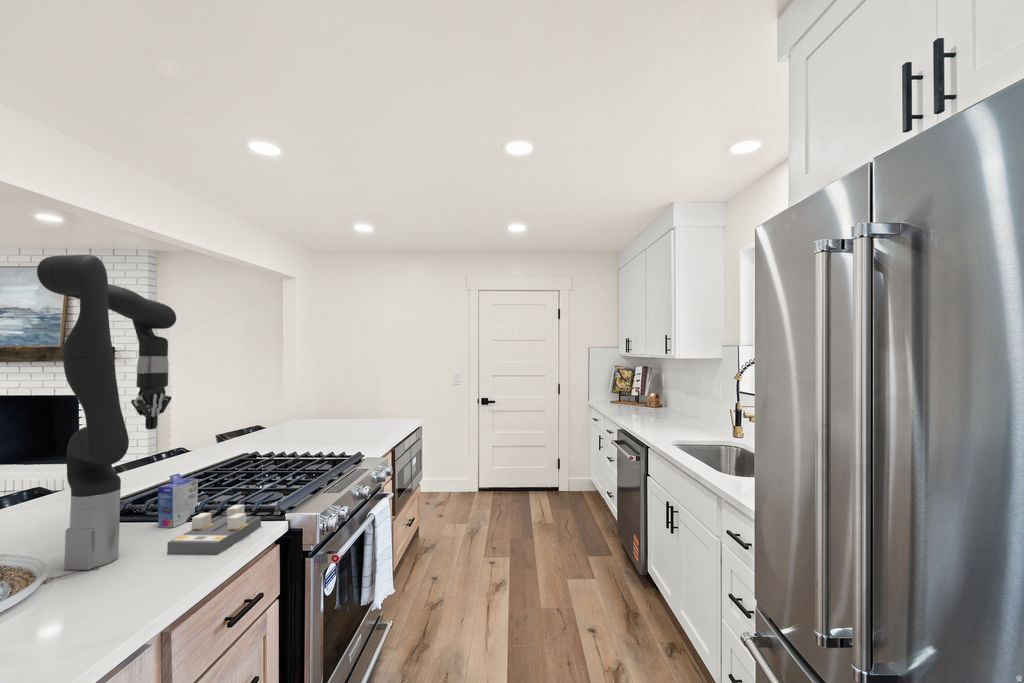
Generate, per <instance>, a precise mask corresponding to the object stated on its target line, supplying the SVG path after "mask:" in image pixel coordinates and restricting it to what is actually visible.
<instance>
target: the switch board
mask: <svg viewBox="0 0 1024 683" xmlns="http://www.w3.org/2000/svg"><path fill="white" fill-rule="evenodd" d="M227 520H228V519H227V515H217V516H216V517H214V518H211V524H210V525H208V526H206V527H204V528H202V529H192V528H191V529H190V530H188V531H186V532H185V533H183V534H181V535H179V536H177V537H174V538H173V539H171V540H170V541H168V542H167V544H166V546H167V550H166V551H167V552H166V554H167V555H195V556H196V555H197V556H200V555H203V556H204V555H206V556H207V555H208V556H211V555H212V556H213V555H215V556H216V555H219V554H221V553H222V552H224V551H225V550H227V549H228V548H230V547H232V546H233V545H235V544H236V543H238V542H239V541H241V540H242V539H244V538H245V537H247V536H248V535H251V534H252V533H253V532H254V531H257V530H259V528H261V526H262V516H258V515H255V516H253V515H251V516H249V515H246V524H245V525H243V526H242V527H240V528H238V529H227Z"/></svg>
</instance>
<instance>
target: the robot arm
mask: <svg viewBox="0 0 1024 683" xmlns="http://www.w3.org/2000/svg"><path fill="white" fill-rule="evenodd" d="M36 275H37V278H38V281H39V282H40V284H41V285H42V286H43V287H44V289H47V291H50V292H52V293H54V294H58V295H60V296H65V297H70V298H74V299H77V300H79V313H78V318H77V320H76V322H75V324H74V326H73V327H72V329H71V331H70V332H69V334H68V336H67V338H66V339H65V341H64V343H63V346H62V349H61V355H62V363H63V370H64V375H65V378H66V381H67V384H68V385H69V387H70V389H71V391H72V392H73V393H74V395H75V397H76V399H77V400H78V402H79V403H80V405H81V408H82V411H83V412H84V413H83V414H84V416H85V424H86V425H85V426H84V427H82V428H80V429H78V430H77V431H75V432H74V433H73V434H72V436H71V437H70V438H69V441H68V443H67V445H66V446H67V447H66V480H67V483H68V485H69V487H70V509H69V510H70V512H69V528H67V529H65V537H64V540H65V541H64V542H65V543H64V565H63V566H64V567H63V569H64V571H65V570H69V571H70V570H71V571H74V570H75V571H76V570H79V571H89V570H91V569H94V568H97V567H101V566H104V565H108V564H110V563H112V562H114V561H116V560H117V559H118V558H119V555H120V554H119V552H120V551H119V550H120V549H119V547H120V512H121V487H122V486H121V485H122V479H121V477H120V476H119V475H118V474H117V473H116V472H115V470H114V469H113V466H112V465H114V464H117V463H118V462H120V461H121V460H122V459H123V458H124V457H125V455H126V454H127V452H128V450H129V446H130V444H129V443H130V439H129V434H128V430H127V426H126V423H125V420H124V416H123V413H122V412H123V411H122V408H121V401H120V396H119V387H118V382H117V374H116V363H115V362H116V361H115V354H114V348H113V343H112V336H111V328H110V317H109V316H110V315H109V310H110V311H112V312H113V313H117V314H118V315H121V316H123V317H124V318H127V319H129V320H132V323H133V327H134V331H135V333H136V334H135V335H136V336H137V340H138V358H137V364H136V365H137V366H136V387H137V388H138V389H139V392H138V393H137V395H138V396H137V397H136V398H135V399H131V401H130V403H131V405H132V406H133V407H134V409H135V411H136V412H137V414H138V415H139V416H143V417H145V421H144V422H145V429H146V430H155V429H157V428H158V420H159V419H158V417H159V416H160V415H161V414H163V413H164V412H165V411H166V408H167V407H168V405H169V404H170V403H171V400H172V396H171V395H170V396H168V395H167V392H166V389H165V388H166V387H168V385H169V357H168V355H169V340H168V339H167V338H166V337H162V336H158V335H155V333H154V330H157V329H158V330H163V329H164V330H166V329H169V328H172V327H173V326H174V325H175V324H176V322H177V315H176V312H175V310H174V309H173V308H172V307H170V306H169V305H167V304H164V303H161V302H159V301H155V300H151V299H148V298H146V297H144V296H142V295H140V294H138V293H136V292H135V291H133V290H130V289H129V288H125V287H121V286H118V285H114V284H110V283H108V282H109V281H108V273H107V269H106V266H105V265H104V262H103V261H102V260H101V259H100V258H99V257H97V256H96V255H93V254H72V255H70V254H68V255H53V256H48V257H45V258H43V259H41V260H40V262H39V263H38V265H37V268H36Z"/></svg>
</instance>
